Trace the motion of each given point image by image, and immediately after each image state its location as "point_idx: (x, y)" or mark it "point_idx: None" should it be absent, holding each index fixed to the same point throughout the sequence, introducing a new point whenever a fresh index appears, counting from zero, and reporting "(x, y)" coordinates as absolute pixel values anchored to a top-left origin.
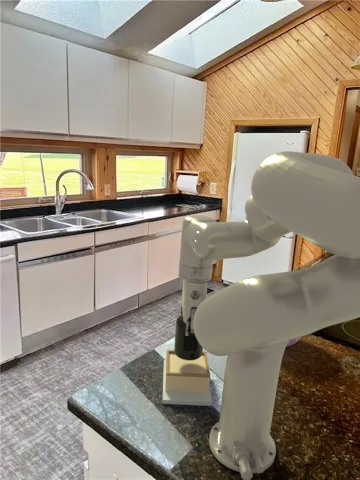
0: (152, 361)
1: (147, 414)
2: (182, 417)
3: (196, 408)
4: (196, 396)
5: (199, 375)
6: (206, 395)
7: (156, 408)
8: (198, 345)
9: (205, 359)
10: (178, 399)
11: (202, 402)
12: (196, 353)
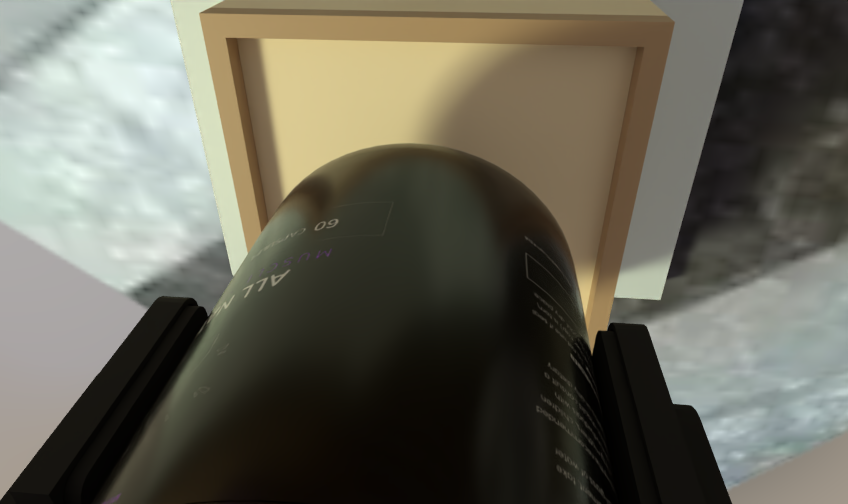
0: None
1: (727, 349)
2: (804, 183)
3: (739, 85)
4: (660, 91)
5: (646, 134)
6: (659, 6)
7: (688, 310)
8: (570, 325)
9: (361, 40)
10: (672, 215)
11: (728, 47)
12: (569, 269)
